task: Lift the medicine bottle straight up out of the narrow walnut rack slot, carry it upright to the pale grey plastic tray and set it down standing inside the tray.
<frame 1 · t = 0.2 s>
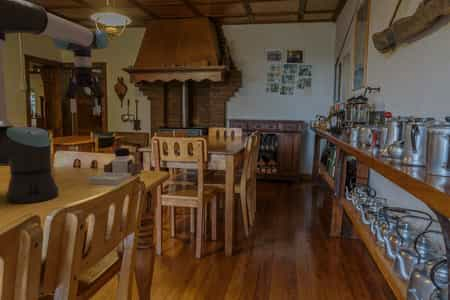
hand: (85, 112, 155), 28 cm above the table, tool pointing down, fingers open, 13 cm apart
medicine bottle: (123, 175, 147), on the table
rack: (123, 174, 146), on the table
tray: (110, 181, 133), on the table
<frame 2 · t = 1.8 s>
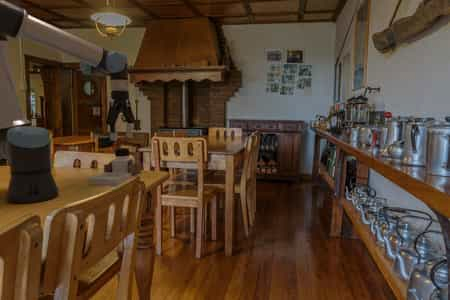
hand: (122, 138, 145), 16 cm above the table, tool pointing down, fingers open, 13 cm apart
nothing on the table moved.
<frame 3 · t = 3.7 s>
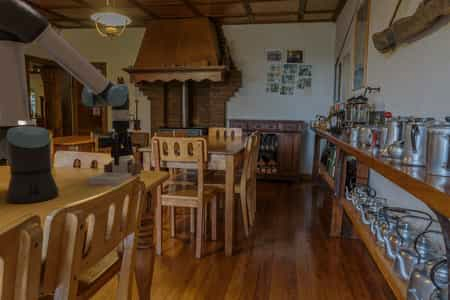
hand: (123, 170, 146), 2 cm above the table, tool pointing down, fingers closed on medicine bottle, 8 cm apart
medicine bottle: (123, 175, 146), on the table, touching gripper
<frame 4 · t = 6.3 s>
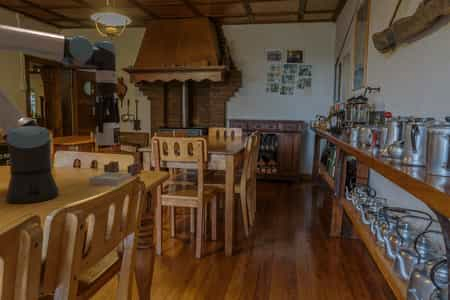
hand: (108, 140, 131), 17 cm above the table, tool pointing down, fingers closed on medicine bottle, 8 cm apart
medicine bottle: (108, 144, 131), point 15 cm above the table, touching gripper
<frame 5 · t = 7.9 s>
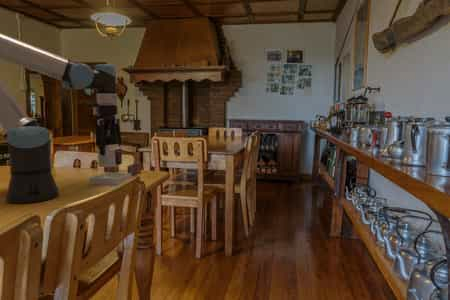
hand: (110, 161, 132), 8 cm above the table, tool pointing down, fingers closed on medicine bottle, 8 cm apart
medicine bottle: (110, 165, 132), point 6 cm above the table, touching gripper
when the fingers open (3 cm above the table, at t = 9.3 s): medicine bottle stays where it is, resting on tray.
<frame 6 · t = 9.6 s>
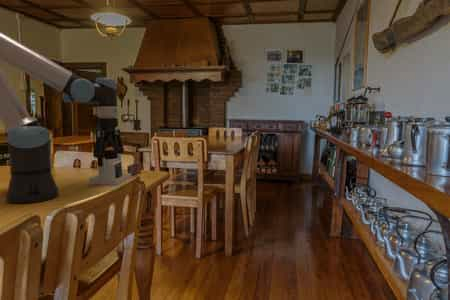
hand: (110, 171, 132), 4 cm above the table, tool pointing down, fingers open, 11 cm apart
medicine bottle: (110, 179, 133), point 1 cm above the table, touching tray
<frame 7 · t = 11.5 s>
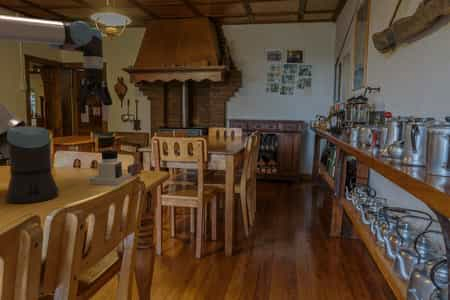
hand: (96, 121, 134), 24 cm above the table, tool pointing down, fingers open, 13 cm apart
nothing on the table moved.
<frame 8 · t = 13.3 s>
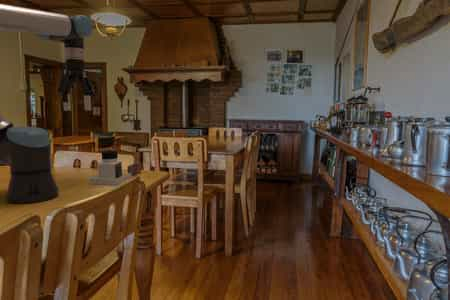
hand: (78, 110, 139), 29 cm above the table, tool pointing down, fingers open, 13 cm apart
nothing on the table moved.
at the end: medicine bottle inside the target area on the tray (0.0 cm from its centre), point 0.6 cm above the tray's base; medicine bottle tilted 0°; the gripper is holding nothing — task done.
